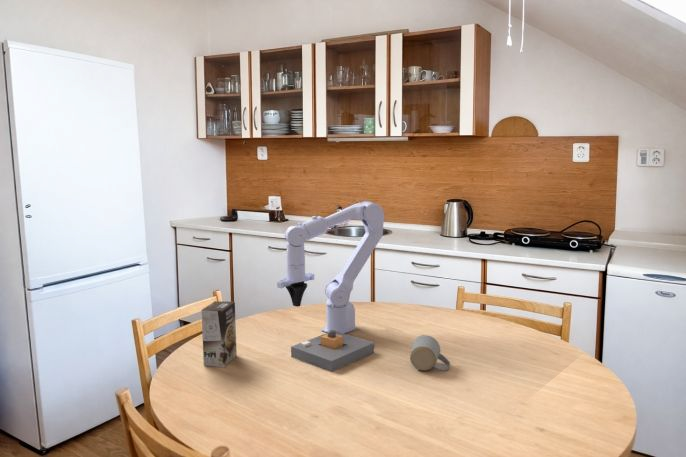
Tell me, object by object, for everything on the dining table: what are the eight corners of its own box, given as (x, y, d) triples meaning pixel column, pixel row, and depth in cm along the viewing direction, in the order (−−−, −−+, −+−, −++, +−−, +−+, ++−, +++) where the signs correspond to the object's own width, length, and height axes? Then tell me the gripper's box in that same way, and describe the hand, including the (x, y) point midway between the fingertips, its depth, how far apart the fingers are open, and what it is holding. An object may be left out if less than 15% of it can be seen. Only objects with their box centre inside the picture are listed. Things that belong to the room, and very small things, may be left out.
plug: (329, 350, 158) (328, 327, 157) (343, 354, 155) (342, 330, 154) (321, 354, 155) (320, 331, 153) (335, 358, 152) (334, 335, 151)
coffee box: (224, 367, 146) (222, 310, 143) (202, 366, 147) (200, 309, 145) (237, 355, 155) (235, 301, 152) (217, 353, 156) (214, 300, 154)
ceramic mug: (408, 371, 143) (409, 343, 142) (412, 359, 151) (413, 333, 149) (448, 375, 140) (450, 347, 139) (450, 363, 148) (451, 337, 147)
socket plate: (334, 339, 166) (333, 328, 166) (374, 352, 156) (374, 340, 155) (291, 356, 153) (290, 343, 153) (331, 371, 143) (331, 358, 142)
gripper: (303, 258, 176) (303, 298, 178) (270, 266, 166) (271, 308, 168) (318, 261, 172) (319, 302, 174) (285, 269, 161) (286, 312, 163)
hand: (296, 305), depth 170 cm, fingers closed
